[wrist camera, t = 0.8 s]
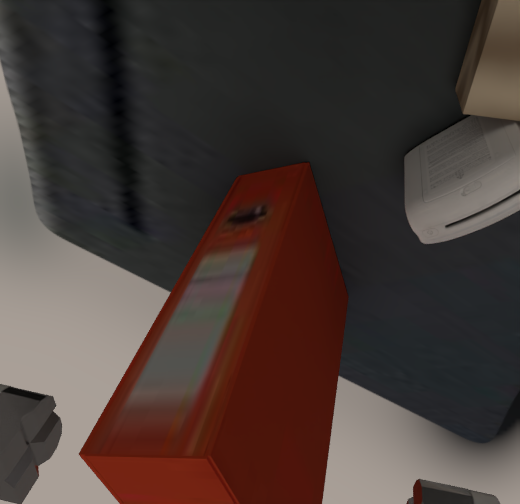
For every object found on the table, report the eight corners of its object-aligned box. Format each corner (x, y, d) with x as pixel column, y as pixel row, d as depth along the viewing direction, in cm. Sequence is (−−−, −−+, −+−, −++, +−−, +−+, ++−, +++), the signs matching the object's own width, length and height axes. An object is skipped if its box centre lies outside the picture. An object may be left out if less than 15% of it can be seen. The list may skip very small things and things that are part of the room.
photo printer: (419, 189, 47) (426, 266, 37) (395, 154, 46) (396, 225, 36) (530, 131, 42) (571, 203, 32) (507, 90, 40) (544, 152, 31)
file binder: (282, 302, 59) (200, 604, 34) (234, 176, 51) (76, 457, 26) (348, 295, 57) (311, 618, 31) (309, 161, 48) (215, 459, 23)
